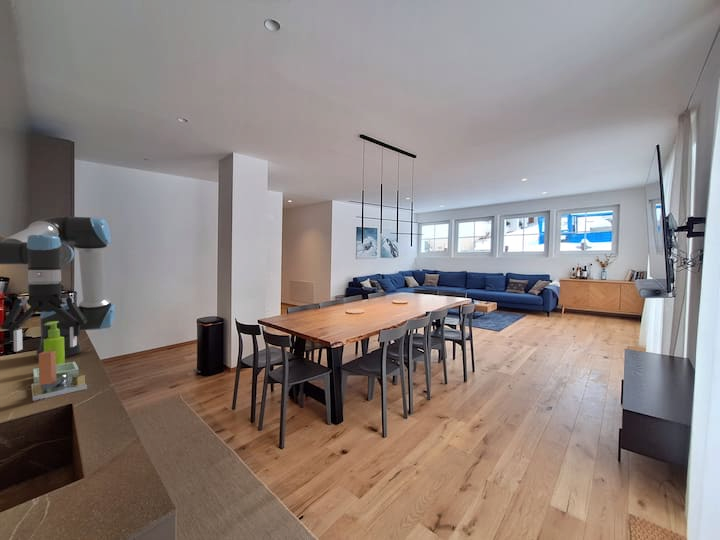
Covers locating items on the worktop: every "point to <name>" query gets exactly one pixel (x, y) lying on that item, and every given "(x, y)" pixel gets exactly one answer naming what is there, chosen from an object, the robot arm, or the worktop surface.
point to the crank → (50, 371)
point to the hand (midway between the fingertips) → (46, 348)
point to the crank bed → (60, 388)
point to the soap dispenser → (55, 342)
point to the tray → (60, 370)
